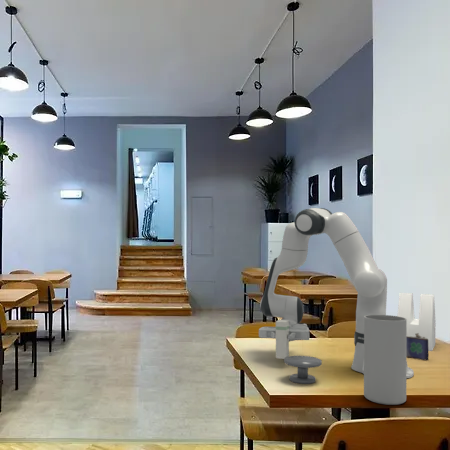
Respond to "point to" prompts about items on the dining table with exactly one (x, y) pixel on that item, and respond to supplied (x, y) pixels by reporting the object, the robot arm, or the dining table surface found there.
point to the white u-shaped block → (426, 316)
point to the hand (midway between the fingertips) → (282, 336)
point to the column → (282, 339)
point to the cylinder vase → (385, 359)
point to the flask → (417, 347)
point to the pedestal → (302, 368)
